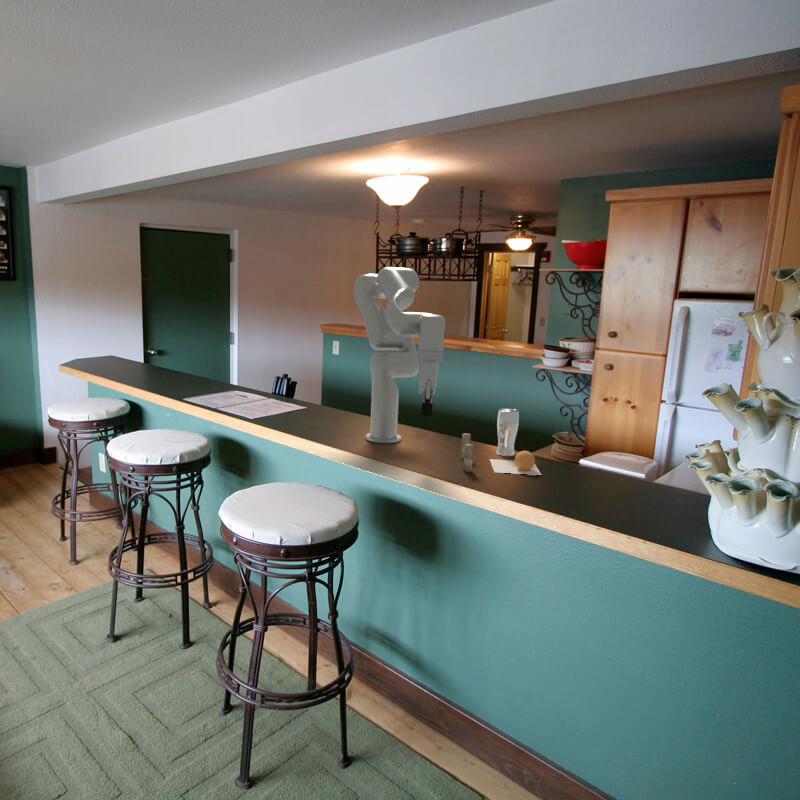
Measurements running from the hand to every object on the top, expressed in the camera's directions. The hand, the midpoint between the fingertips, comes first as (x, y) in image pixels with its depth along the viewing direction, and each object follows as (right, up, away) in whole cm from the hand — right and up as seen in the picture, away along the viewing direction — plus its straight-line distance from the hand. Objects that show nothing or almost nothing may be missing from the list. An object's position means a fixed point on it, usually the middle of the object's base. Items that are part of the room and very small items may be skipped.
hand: (426, 415), depth 174 cm
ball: (+30, -14, -2) cm, 33 cm away
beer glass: (+27, -14, +16) cm, 34 cm away
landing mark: (+27, -16, +1) cm, 32 cm away
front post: (+12, -16, -4) cm, 21 cm away
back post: (+13, -14, +8) cm, 21 cm away
